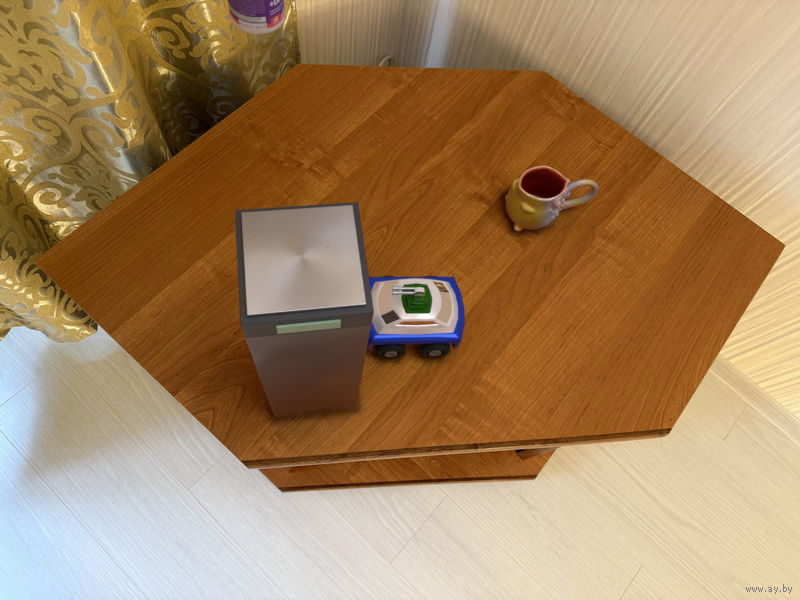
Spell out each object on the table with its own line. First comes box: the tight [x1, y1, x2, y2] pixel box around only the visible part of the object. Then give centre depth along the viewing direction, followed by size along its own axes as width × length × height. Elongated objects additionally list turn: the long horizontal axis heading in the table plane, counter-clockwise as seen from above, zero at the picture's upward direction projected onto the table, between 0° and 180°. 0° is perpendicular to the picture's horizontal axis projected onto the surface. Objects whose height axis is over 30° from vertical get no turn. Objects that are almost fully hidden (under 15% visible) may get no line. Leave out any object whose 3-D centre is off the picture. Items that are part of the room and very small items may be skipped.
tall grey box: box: [234, 201, 374, 418], centre depth 55 cm, size 9×9×28 cm
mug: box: [504, 165, 600, 232], centre depth 77 cm, size 12×7×7 cm, turn 97°
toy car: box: [367, 275, 466, 359], centre depth 67 cm, size 9×12×10 cm
